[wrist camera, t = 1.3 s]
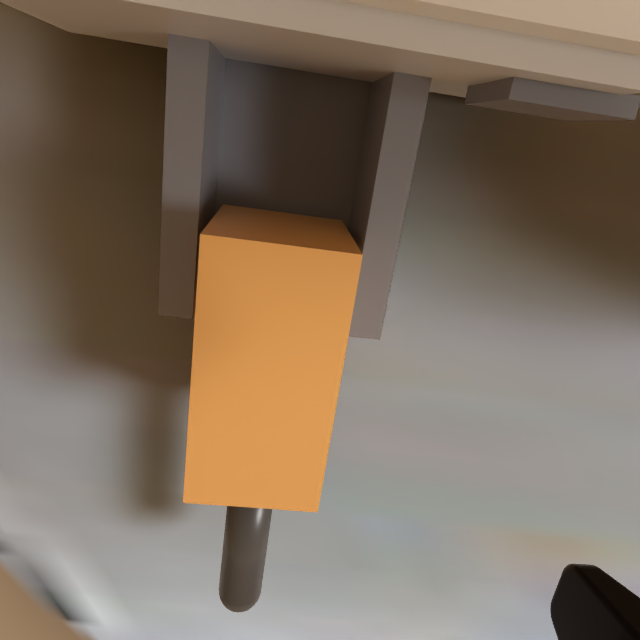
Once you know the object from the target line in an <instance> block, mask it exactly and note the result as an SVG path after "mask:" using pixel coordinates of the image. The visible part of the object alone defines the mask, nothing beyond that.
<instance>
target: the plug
mask: <svg viewBox="0 0 640 640" xmlns="http://www.w3.org/2000/svg"><path fill="white" fill-rule="evenodd" d="M362 257H363V254H362V252H361V251H360V249H359V247H358V246H357V244H356V242H355V241H354V239H353V238H352V236H351V234H350V233H349V231H348V229H347V228H346V226H345V224H344V223H343V221H342V220H336V219H329V218H321V217H314V216H307V215H299V214H292V213H284V212H277V211H269V210H262V209H255V208H247V207H240V206H232V205H225V204H223V205H222V207H221V208H220V209H219V211H218V212H217V213H216V214H215V216H214V217H213V218H212V219H211V221H210V222H209V223H208V225H207V226H206V227H205V228H204V230H203V231H202V232H201V233H200V244H199V259H198V275H197V291H196V307H195V322H194V338H193V354H192V369H191V385H190V401H189V417H188V432H187V448H186V464H185V480H184V495H183V503H194V504H208V505H222V506H227V513H226V523H225V533H224V543H223V553H222V563H221V573H220V583H219V595H220V599H221V601H222V603H223V604H224V606H225V607H226V608H227V609H229V610H231V611H234V612H244V611H247V610H249V609H250V608H251V607H253V606H254V605H255V603H256V602H257V600H258V599H259V596H260V593H261V586H262V579H263V572H264V565H265V557H266V550H267V543H268V535H269V528H270V521H271V514H272V509H279V510H293V511H307V512H318V508H319V502H320V496H321V490H322V485H323V479H324V473H325V468H326V462H327V456H328V451H329V445H330V439H331V434H332V428H333V422H334V416H335V411H336V405H337V399H338V394H339V388H340V382H341V377H342V371H343V365H344V360H345V354H346V348H347V342H348V337H349V331H350V325H351V320H352V314H353V308H354V303H355V297H356V291H357V286H358V280H359V274H360V268H361V263H362Z"/></svg>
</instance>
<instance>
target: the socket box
mask: <svg viewBox="0 0 640 640" xmlns="http://www.w3.org/2000/svg"><path fill="white" fill-rule="evenodd" d="M0 2H1V3H3V4H5V5H8V6H10V7H12V8H15V9H17V10H19V11H22V12H24V13H26V14H28V15H31V16H33V17H35V18H38V19H40V20H42V21H45V22H47V23H49V24H51V25H54V26H56V27H58V28H61V29H63V30H65V31H68V32H72V33H78V34H84V35H90V36H96V37H102V38H108V39H114V40H120V41H126V42H132V43H138V44H144V45H150V46H156V47H162V48H168V49H167V76H166V103H165V130H164V158H163V185H162V212H161V239H160V266H159V293H158V315H159V316H168V317H177V318H187V319H192V318H193V316H194V314H195V307H196V291H197V275H198V259H199V244H200V233H201V232H202V231H203V230H204V228H205V227H206V226H207V225H208V223H209V222H210V221H211V219H212V218H213V217H214V216H215V214H216V213H217V212H218V211H219V209H220V208H221V207H222V205H223V204H225V205H232V206H240V207H247V208H255V209H262V210H269V211H277V212H284V213H292V214H299V215H307V216H314V217H321V218H329V219H336V220H342V221H343V223H344V224H345V226H346V228H347V229H348V231H349V233H350V234H351V236H352V238H353V239H354V241H355V242H356V244H357V246H358V247H359V249H360V251H361V252H362V254H363V257H362V263H361V268H360V274H359V280H358V286H357V291H356V297H355V303H354V308H353V314H352V320H351V325H350V331H349V336H351V337H360V338H369V339H378V340H380V337H381V332H382V327H383V322H384V317H385V312H386V307H387V302H388V297H389V292H390V287H391V282H392V277H393V272H394V267H395V262H396V257H397V252H398V247H399V242H400V237H401V231H402V226H403V221H404V216H405V211H406V206H407V201H408V196H409V191H410V186H411V181H412V176H413V171H414V166H415V161H416V156H417V151H418V146H419V141H420V136H421V131H422V126H423V121H424V116H425V111H426V106H427V101H428V96H429V92H434V93H440V94H446V95H452V96H458V97H464V98H465V103H464V104H465V105H471V106H477V107H484V108H490V109H496V110H502V111H508V112H514V113H520V114H526V115H532V116H538V117H545V118H551V119H557V120H563V121H606V120H635V118H636V115H637V112H638V109H639V106H640V96H639V95H633V94H637V93H640V0H0Z"/></svg>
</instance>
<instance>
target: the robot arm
mask: <svg viewBox="0 0 640 640" xmlns="http://www.w3.org/2000/svg"><path fill="white" fill-rule="evenodd" d="M551 618H552V622H553V625H554V628H555V631H556V634H557V637H558V640H640V598H639V597H638V596H636V595H635V594H634V593H632V592H631V591H630V590H628V589H627V588H626V587H624V586H623V585H622V584H620V583H619V582H617V581H616V580H615V579H613V578H612V577H611V576H609V575H608V574H607V573H605V572H604V571H603V570H601V569H600V568H598V567H596V566H594V565H586V564H569V565H568V566H566V567H565V568H564V570H563V572H562V575H561V578H560V580H559V583H558V585H557V588H556V591H555V593H554V596H553V599H552V602H551Z"/></svg>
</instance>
